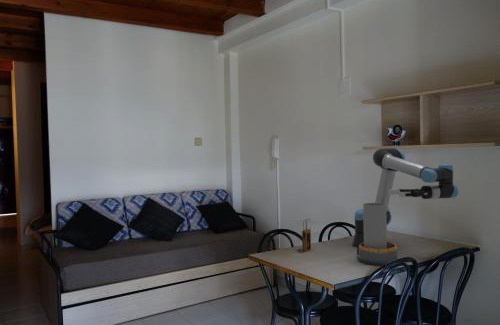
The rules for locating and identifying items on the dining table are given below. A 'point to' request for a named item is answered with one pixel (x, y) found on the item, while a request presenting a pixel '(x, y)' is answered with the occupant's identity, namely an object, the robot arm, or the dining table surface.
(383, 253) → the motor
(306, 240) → the multimeter
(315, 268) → the dining table surface
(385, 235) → the cylinder vase
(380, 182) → the robot arm
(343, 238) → the dining table surface
